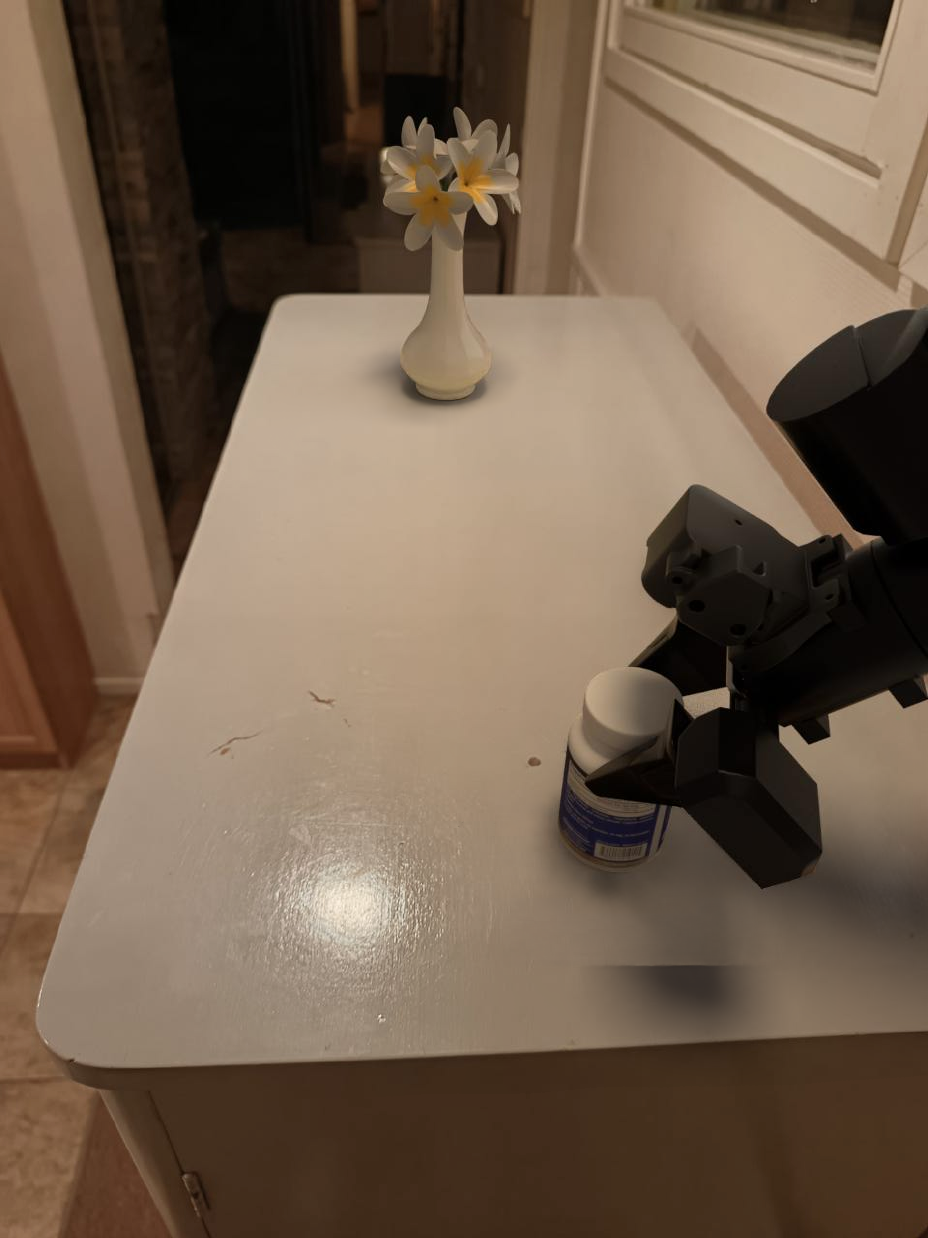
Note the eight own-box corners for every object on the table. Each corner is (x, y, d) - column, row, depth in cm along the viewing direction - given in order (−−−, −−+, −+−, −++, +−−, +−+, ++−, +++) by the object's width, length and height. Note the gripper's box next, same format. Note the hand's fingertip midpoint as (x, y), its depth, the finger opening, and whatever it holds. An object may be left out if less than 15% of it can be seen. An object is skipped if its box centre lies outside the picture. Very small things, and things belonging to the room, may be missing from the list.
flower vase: (381, 430, 84) (371, 137, 69) (391, 355, 99) (384, 99, 83) (516, 432, 85) (537, 141, 69) (506, 357, 99) (521, 103, 83)
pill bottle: (600, 775, 51) (624, 642, 44) (683, 833, 48) (721, 700, 41) (534, 830, 47) (549, 696, 41) (618, 897, 44) (649, 762, 38)
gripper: (787, 359, 39) (528, 529, 48) (811, 601, 25) (437, 781, 34) (913, 534, 43) (650, 663, 52) (996, 834, 29) (614, 942, 38)
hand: (598, 742), depth 44 cm, fingers closed on pill bottle, 6 cm apart
